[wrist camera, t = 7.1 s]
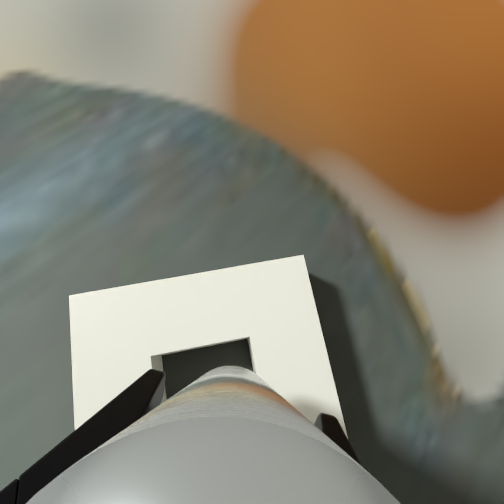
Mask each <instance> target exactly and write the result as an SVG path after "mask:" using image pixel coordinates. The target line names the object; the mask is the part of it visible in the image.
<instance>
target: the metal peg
mask: <svg viewBox="0 0 504 504" xmlns="http://www.w3.org/2000/svg"><path fill="white" fill-rule="evenodd" d="M26 504H401V503H400V502H399V501H398V500H397V499H396V498H395V497H394V496H393V495H392V494H391V493H390V492H389V491H388V490H387V489H386V488H385V487H384V486H383V485H382V484H381V483H380V482H379V481H378V480H377V479H375V478H374V477H373V476H372V475H371V474H370V473H369V472H367V471H366V470H365V469H364V468H363V467H362V466H361V465H359V464H358V463H357V462H356V461H355V460H354V459H353V458H351V457H350V456H349V455H348V454H347V453H346V452H345V451H343V450H342V449H341V448H340V447H339V446H338V445H337V444H335V443H334V442H333V441H332V440H331V439H330V438H329V437H327V436H326V435H325V434H324V433H323V432H322V431H321V430H319V429H318V428H317V427H316V426H315V425H314V424H313V423H311V422H310V421H309V420H308V419H307V418H306V417H305V416H303V415H302V414H301V413H300V412H299V411H298V410H297V409H295V408H294V407H293V406H292V405H291V404H290V403H289V402H287V401H286V400H285V399H284V398H283V397H282V396H281V395H279V394H278V393H277V392H276V391H275V390H274V389H273V388H271V387H270V386H269V385H268V384H267V383H266V382H265V381H263V380H262V379H261V378H260V377H259V376H258V375H256V374H255V373H254V372H252V371H250V370H248V369H246V368H243V367H239V366H222V367H218V368H215V369H213V370H211V371H209V372H207V373H206V374H204V375H203V376H201V377H200V378H198V379H197V380H195V381H194V382H192V383H191V384H189V385H188V386H187V387H185V388H184V389H182V390H181V391H179V392H178V393H176V394H175V395H173V396H172V397H171V398H169V399H168V400H166V401H165V402H163V403H162V404H160V405H159V406H158V407H156V408H155V409H153V410H152V411H150V412H149V413H147V414H146V415H144V416H143V417H142V418H140V419H139V420H137V421H136V422H134V423H133V424H131V425H130V426H128V427H127V428H126V429H124V430H123V431H121V432H120V433H118V434H117V435H115V436H114V437H112V438H111V439H110V440H108V441H107V442H105V443H104V444H102V445H101V446H99V447H98V448H97V449H95V450H94V451H92V452H91V453H89V454H88V455H86V456H85V457H83V458H82V459H81V460H79V461H78V462H76V463H75V464H73V465H72V466H70V467H69V468H67V469H66V470H65V471H64V472H62V473H61V474H60V475H59V476H57V477H56V478H55V479H54V480H52V481H51V482H50V483H49V484H47V485H46V486H45V487H44V488H42V489H41V490H40V491H39V492H37V493H36V494H35V495H34V496H33V497H32V498H31V499H30V500H29V501H28V502H27V503H26Z"/></svg>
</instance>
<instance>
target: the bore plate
mask: <svg viewBox="0 0 504 504" xmlns="http://www.w3.org/2000/svg"><path fill="white" fill-rule="evenodd" d="M69 306H70V329H71V353H72V376H73V400H74V423H75V430H76V429H77V428H79V427H80V426H81V425H82V424H83V423H85V422H86V421H87V420H88V419H89V418H91V417H92V416H93V415H94V414H96V413H97V412H98V411H99V410H100V409H102V408H103V407H104V406H105V405H107V404H108V403H109V402H110V401H111V400H113V399H114V398H115V397H116V396H117V395H119V394H120V393H121V392H122V391H124V390H125V389H126V388H127V387H128V386H130V385H131V384H132V383H133V382H135V381H136V380H137V379H138V378H139V377H141V376H142V375H143V374H144V373H146V372H147V371H148V370H150V369H155V370H159V371H163V363H162V355H167V354H172V353H177V352H182V351H187V350H192V349H197V348H202V347H207V346H213V345H218V344H223V343H228V342H233V341H238V340H243V339H248V344H249V350H250V355H251V361H252V366H253V372H254V373H255V374H256V375H258V376H259V377H260V378H261V379H262V380H263V381H265V382H266V383H267V384H268V385H269V386H270V387H271V388H273V389H274V390H275V391H276V392H277V393H278V394H279V395H281V396H282V397H283V398H284V399H285V400H286V401H287V402H289V403H290V404H291V405H292V406H293V407H294V408H295V409H297V410H298V411H299V412H300V413H301V414H302V415H303V416H305V417H306V418H307V419H308V420H309V421H310V422H311V423H313V424H314V423H315V421H316V419H317V417H318V415H319V414H320V413H325V414H329V415H333V416H335V417H336V418H337V419H338V421H339V423H340V425H341V427H342V429H343V431H344V433H345V435H346V437H347V439H348V436H347V432H346V428H345V424H344V420H343V416H342V412H341V408H340V403H339V399H338V395H337V391H336V387H335V383H334V379H333V375H332V371H331V366H330V362H329V358H328V354H327V350H326V346H325V342H324V338H323V334H322V329H321V325H320V321H319V317H318V313H317V309H316V305H315V301H314V297H313V292H312V288H311V284H310V280H309V276H308V272H307V268H306V264H305V260H304V255H300V256H294V257H288V258H283V259H277V260H271V261H265V262H260V263H254V264H248V265H242V266H237V267H231V268H225V269H219V270H214V271H208V272H202V273H196V274H191V275H185V276H179V277H173V278H168V279H162V280H156V281H150V282H145V283H139V284H133V285H127V286H122V287H116V288H110V289H104V290H99V291H93V292H87V293H81V294H76V295H70V296H69ZM166 400H167V398H166V390H165V386H164V394H163V398H162V401H161V404H162V403H163V402H165V401H166Z"/></svg>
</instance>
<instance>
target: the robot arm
mask: <svg viewBox="0 0 504 504" xmlns="http://www.w3.org/2000/svg"><path fill="white" fill-rule="evenodd" d="M165 378H166V374H165V372H163V371H159V370H155V369H150V370H148V371H147V372H146V373H144V374H143V375H142V376H141V377H139V378H138V379H137V380H136V381H135V382H133V383H132V384H131V385H130V386H128V387H127V388H126V389H125V390H124V391H122V392H121V393H120V394H119V395H117V396H116V397H115V398H114V399H113V400H111V401H110V402H109V403H108V404H107V405H105V406H104V407H103V408H102V409H100V410H99V411H98V412H97V413H96V414H94V415H93V416H92V417H91V418H89V419H88V420H87V421H86V422H85V423H83V424H82V425H81V426H80V427H79V428H77V429H76V430H75V431H74V432H72V433H71V434H70V435H69V436H68V437H66V438H65V439H64V440H63V441H61V442H60V443H59V444H58V445H57V446H55V447H54V448H53V449H52V450H50V451H49V452H48V453H47V454H46V455H44V456H43V457H42V458H41V459H40V460H38V461H37V462H36V463H35V464H33V465H32V466H31V467H30V468H29V469H27V470H26V471H25V472H24V473H22V474H21V475H20V477H19V479H15V480H14V481H12V482H11V483H10V484H9V485H8V486H6V487H5V488H4V489H3V490H2V491H0V504H26V503H27V502H28V501H29V500H30V499H31V498H32V497H33V496H34V495H35V494H36V493H37V492H39V491H40V490H41V489H42V488H44V487H45V486H46V485H47V484H49V483H50V482H51V481H52V480H54V479H55V478H56V477H57V476H59V475H60V474H61V473H62V472H64V471H65V470H66V469H67V468H69V467H70V466H72V465H73V464H75V463H76V462H78V461H79V460H81V459H82V458H83V457H85V456H86V455H88V454H89V453H91V452H92V451H94V450H95V449H97V448H98V447H99V446H101V445H102V444H104V443H105V442H107V441H108V440H110V439H111V438H112V437H114V436H115V435H117V434H118V433H120V432H121V431H123V430H124V429H126V428H127V427H128V426H130V425H131V424H133V423H134V422H136V421H137V420H139V419H140V418H142V417H143V416H144V415H146V414H147V413H149V412H150V411H152V410H153V409H155V408H156V407H158V406H159V405H160V404H161V401H162V398H163V394H164V386H165ZM314 425H315V426H316V427H317V428H318V429H319V430H321V431H322V432H323V433H324V434H325V435H326V436H327V437H329V438H330V439H331V440H332V441H333V442H334V443H335V444H337V445H338V446H339V447H340V448H341V449H342V450H343V451H345V452H346V453H347V454H348V455H349V456H350V457H351V458H353V459H354V460H355V461H356V462H357V463H358V464H359V465H361V463H360V461H359V460H358V458H357V456H356V454H355V452H354V450H353V448H352V446H351V444H350V442H349V440H348V439H347V437H346V435H345V433H344V431H343V429H342V427H341V425H340V423H339V421H338V419H337V418H336V417H335V416H333V415H329V414H325V413H320V414H319V415H318V417H317V419H316V421H315V423H314ZM361 466H362V465H361Z"/></svg>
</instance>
